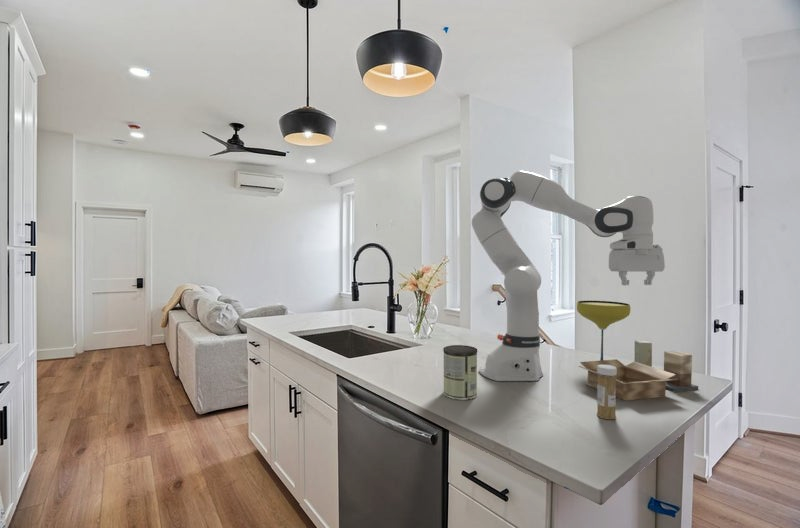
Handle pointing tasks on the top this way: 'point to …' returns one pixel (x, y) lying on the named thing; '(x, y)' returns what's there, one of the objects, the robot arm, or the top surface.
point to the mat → (678, 388)
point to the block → (678, 367)
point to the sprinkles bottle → (606, 391)
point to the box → (643, 352)
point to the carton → (632, 379)
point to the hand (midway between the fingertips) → (636, 285)
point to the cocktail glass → (603, 314)
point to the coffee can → (460, 372)
